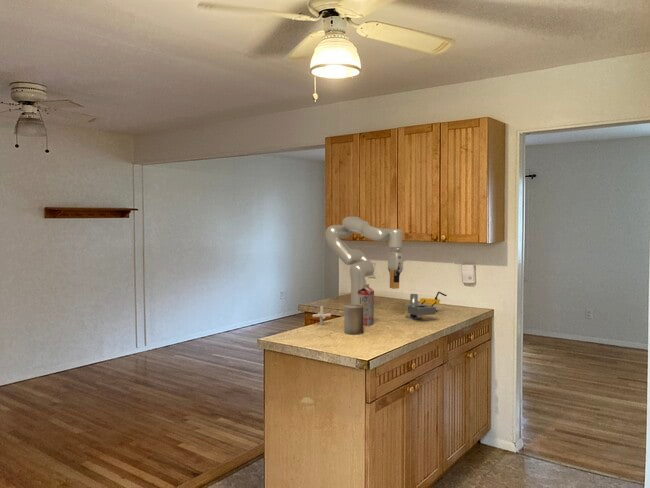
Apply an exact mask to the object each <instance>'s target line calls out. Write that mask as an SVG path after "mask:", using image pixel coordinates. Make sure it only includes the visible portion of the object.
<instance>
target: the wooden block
mask: <svg viewBox="0 0 650 488" xmlns="http://www.w3.org/2000/svg"><path fill="white" fill-rule="evenodd" d="M397 270H398V269H397ZM394 276H395V270H393V269H390V274H389V289H394V290H396V289H397V290H398V289H400V281H399V282H396V283H395V282H394Z"/></svg>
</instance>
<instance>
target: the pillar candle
mask: <svg viewBox="0 0 650 488" xmlns="http://www.w3.org/2000/svg"><path fill="white" fill-rule="evenodd" d="M344 308H345V311H344V329H343V330H344V333H345V334H347V335H362V334H363V333H364V326H363V305H353V304H352V305H351V304H346V305H344V307H343V309H344Z"/></svg>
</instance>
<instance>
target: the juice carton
mask: <svg viewBox="0 0 650 488" xmlns="http://www.w3.org/2000/svg"><path fill="white" fill-rule="evenodd" d="M366 284H367V283H366ZM358 305H363V327H370V326H373V325H374V323H375V321H374V320H375V319H374V317H375V290H374V289H373V288H371V287H370V284H369V283H368V284H367V285H363V289H361V290H359V291H358Z"/></svg>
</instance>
